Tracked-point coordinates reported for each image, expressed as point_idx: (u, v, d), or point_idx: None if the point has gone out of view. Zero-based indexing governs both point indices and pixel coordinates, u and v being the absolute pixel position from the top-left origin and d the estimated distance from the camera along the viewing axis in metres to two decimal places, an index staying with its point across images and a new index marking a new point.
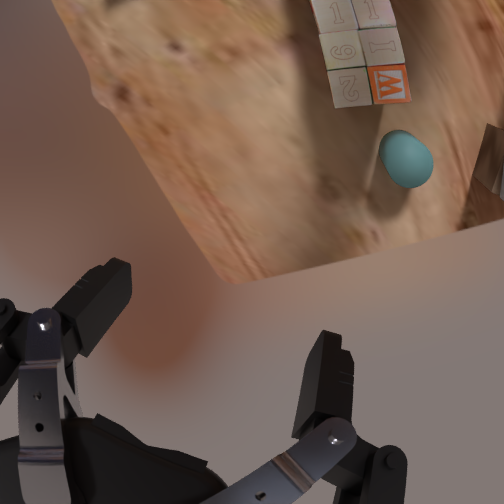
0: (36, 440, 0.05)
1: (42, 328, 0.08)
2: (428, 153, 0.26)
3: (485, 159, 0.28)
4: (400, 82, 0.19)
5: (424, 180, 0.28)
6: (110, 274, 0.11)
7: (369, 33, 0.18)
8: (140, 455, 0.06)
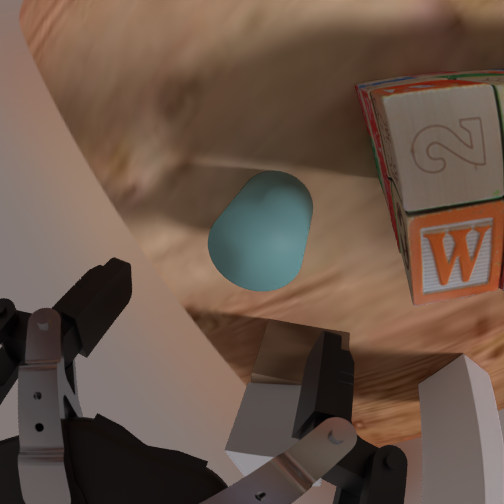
0: (36, 441, 0.05)
1: (42, 328, 0.08)
2: (283, 281, 0.17)
3: (296, 342, 0.24)
4: (460, 280, 0.08)
5: (232, 278, 0.18)
6: (110, 274, 0.11)
7: None
8: (140, 455, 0.06)
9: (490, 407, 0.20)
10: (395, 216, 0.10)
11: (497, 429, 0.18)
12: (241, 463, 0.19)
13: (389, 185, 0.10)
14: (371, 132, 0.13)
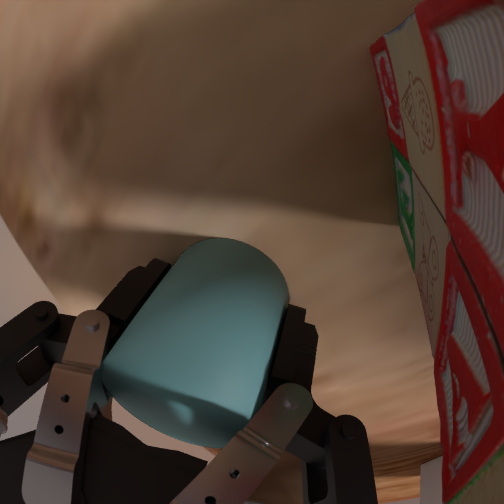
0: (52, 441, 0.05)
1: (91, 331, 0.09)
2: (226, 444, 0.09)
3: None
4: None
5: (151, 425, 0.10)
6: (154, 275, 0.11)
7: None
8: (140, 455, 0.06)
9: None
10: (474, 479, 0.02)
11: None
12: None
13: None
14: (421, 147, 0.05)
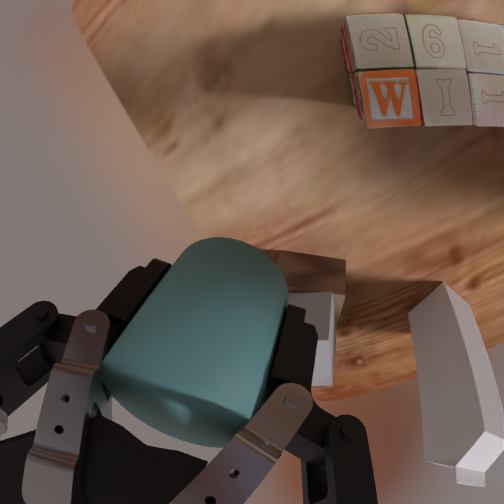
0: (52, 441, 0.05)
1: (91, 331, 0.09)
2: (226, 443, 0.09)
3: (303, 265, 0.31)
4: (395, 114, 0.14)
5: (151, 424, 0.10)
6: (154, 275, 0.11)
7: (462, 83, 0.12)
8: (140, 455, 0.06)
9: (472, 326, 0.27)
10: (357, 94, 0.16)
11: (480, 345, 0.25)
12: None
13: (353, 75, 0.16)
14: (347, 61, 0.19)
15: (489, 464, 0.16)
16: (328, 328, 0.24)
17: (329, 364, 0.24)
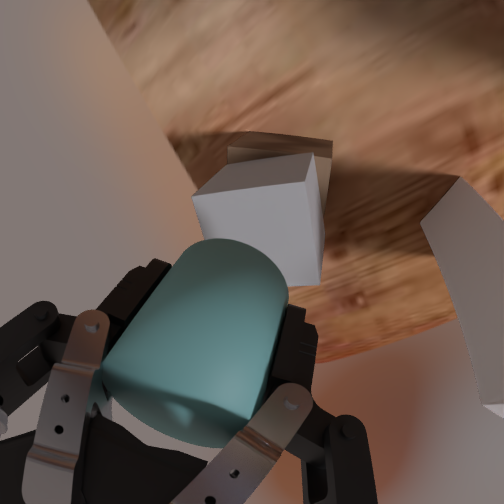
0: (52, 441, 0.05)
1: (91, 331, 0.09)
2: (226, 444, 0.09)
3: (276, 139, 0.23)
4: None
5: (151, 425, 0.10)
6: (154, 275, 0.11)
7: None
8: (140, 455, 0.06)
9: None
10: None
11: None
12: (212, 232, 0.17)
13: None
14: None
15: None
16: (305, 174, 0.16)
17: (311, 236, 0.16)
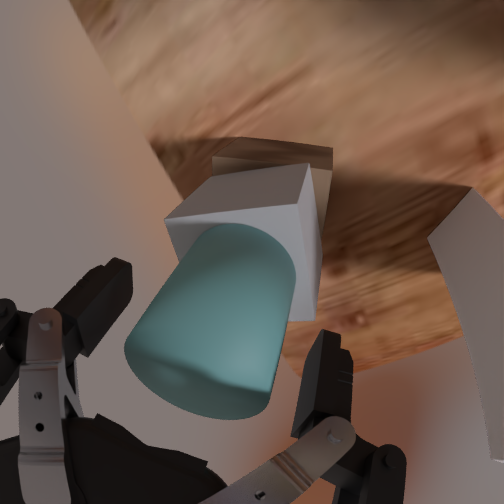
0: (36, 440, 0.05)
1: (43, 328, 0.08)
2: (242, 414, 0.10)
3: (269, 146, 0.21)
4: None
5: (169, 400, 0.11)
6: (111, 274, 0.11)
7: None
8: (140, 455, 0.06)
9: None
10: None
11: None
12: None
13: None
14: None
15: None
16: (299, 192, 0.13)
17: (305, 267, 0.13)
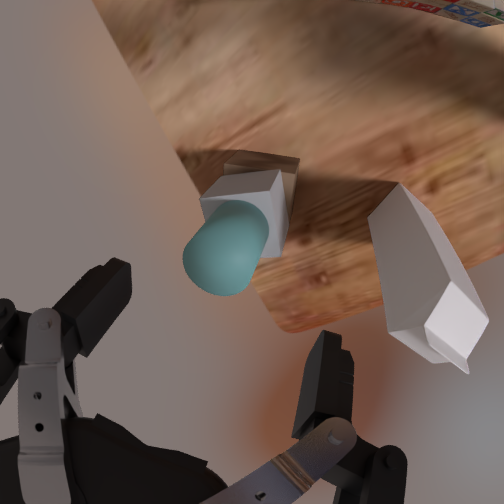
0: (36, 441, 0.05)
1: (42, 328, 0.08)
2: (239, 289, 0.22)
3: (258, 157, 0.33)
4: None
5: (201, 286, 0.23)
6: (110, 274, 0.11)
7: None
8: (140, 455, 0.06)
9: (432, 221, 0.29)
10: None
11: (443, 235, 0.27)
12: None
13: None
14: None
15: (470, 347, 0.18)
16: (271, 185, 0.26)
17: (274, 224, 0.26)
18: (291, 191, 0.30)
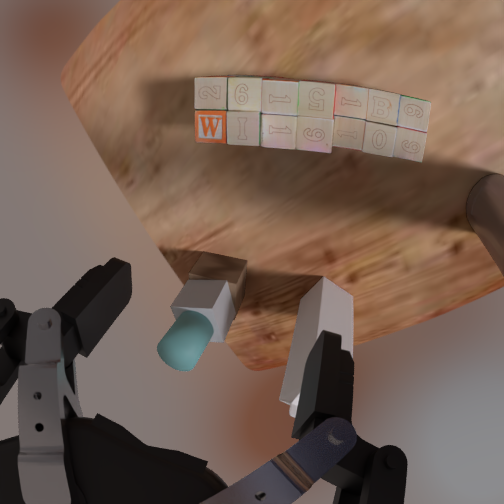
0: (36, 441, 0.05)
1: (42, 328, 0.08)
2: (191, 367, 0.35)
3: (215, 262, 0.47)
4: (211, 135, 0.27)
5: (172, 366, 0.36)
6: (110, 274, 0.11)
7: (255, 120, 0.25)
8: (140, 455, 0.06)
9: (342, 311, 0.42)
10: None
11: (346, 325, 0.40)
12: None
13: None
14: None
15: None
16: (215, 302, 0.39)
17: (217, 326, 0.40)
18: (235, 293, 0.44)
